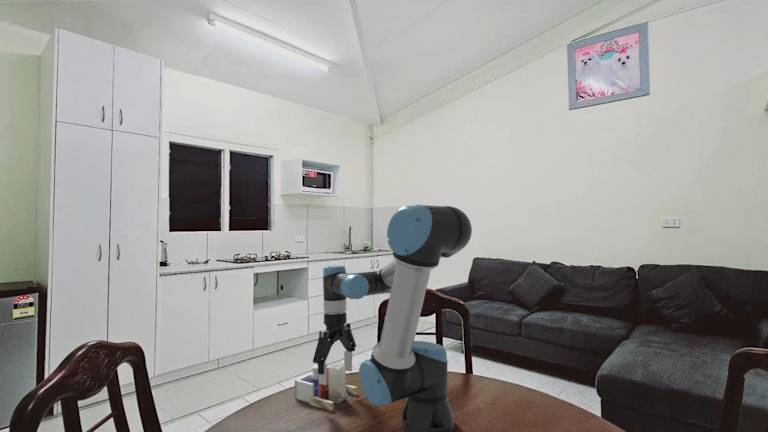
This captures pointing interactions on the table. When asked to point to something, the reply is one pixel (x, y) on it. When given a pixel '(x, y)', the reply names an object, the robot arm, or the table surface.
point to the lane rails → (329, 404)
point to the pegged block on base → (334, 384)
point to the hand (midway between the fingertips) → (336, 377)
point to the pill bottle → (314, 379)
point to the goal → (304, 388)
